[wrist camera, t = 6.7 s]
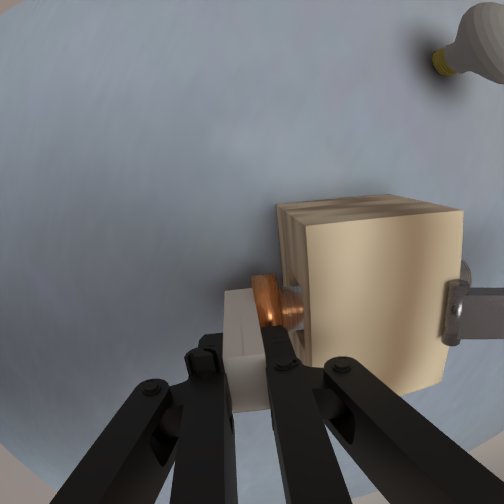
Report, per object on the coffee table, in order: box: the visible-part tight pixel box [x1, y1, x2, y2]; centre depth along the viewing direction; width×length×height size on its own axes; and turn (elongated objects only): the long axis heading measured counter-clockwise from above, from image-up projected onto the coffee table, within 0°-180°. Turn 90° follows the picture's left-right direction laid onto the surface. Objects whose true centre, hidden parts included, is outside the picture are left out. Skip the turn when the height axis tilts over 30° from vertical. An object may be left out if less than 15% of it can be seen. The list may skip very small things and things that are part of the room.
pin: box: [251, 259, 471, 332], centre depth 17 cm, size 13×4×4 cm, turn 96°
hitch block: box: [276, 195, 463, 396], centre depth 18 cm, size 8×10×8 cm
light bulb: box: [432, 2, 504, 84], centre depth 13 cm, size 5×6×10 cm
